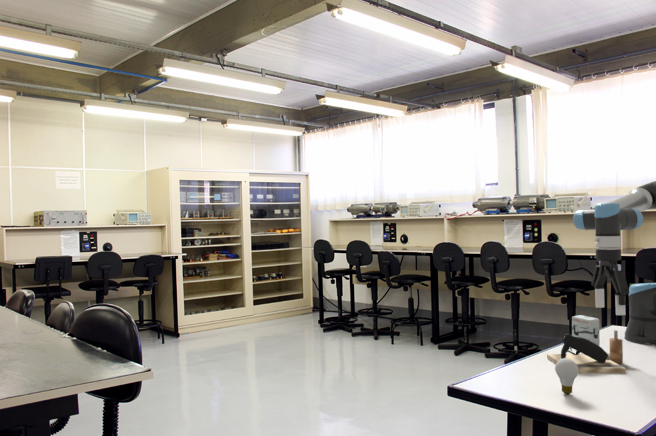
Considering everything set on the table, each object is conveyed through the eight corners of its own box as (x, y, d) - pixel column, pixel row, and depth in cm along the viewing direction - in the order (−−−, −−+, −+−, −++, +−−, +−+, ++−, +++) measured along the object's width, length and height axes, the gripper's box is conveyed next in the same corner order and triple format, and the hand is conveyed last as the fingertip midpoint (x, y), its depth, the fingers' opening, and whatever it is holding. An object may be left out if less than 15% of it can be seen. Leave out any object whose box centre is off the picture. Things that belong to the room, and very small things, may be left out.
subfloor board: (599, 358, 175) (599, 354, 175) (625, 373, 158) (625, 368, 158) (547, 358, 176) (547, 353, 176) (568, 372, 159) (567, 367, 159)
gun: (600, 380, 164) (614, 353, 164) (555, 357, 165) (569, 330, 165) (596, 377, 167) (610, 350, 167) (552, 354, 168) (565, 328, 168)
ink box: (571, 346, 193) (570, 315, 193) (580, 345, 195) (579, 314, 195) (591, 351, 185) (591, 319, 185) (600, 350, 187) (600, 318, 187)
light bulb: (558, 389, 143) (558, 354, 143) (581, 393, 140) (580, 358, 140) (552, 395, 139) (552, 359, 139) (575, 399, 135) (575, 362, 135)
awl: (619, 361, 172) (618, 329, 172) (625, 364, 168) (624, 331, 168) (607, 361, 172) (607, 329, 172) (613, 364, 168) (613, 331, 168)
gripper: (580, 246, 182) (581, 304, 182) (616, 251, 157) (618, 318, 157) (601, 246, 182) (602, 304, 182) (640, 250, 157) (642, 318, 157)
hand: (609, 311), depth 169 cm, fingers open, 13 cm apart
